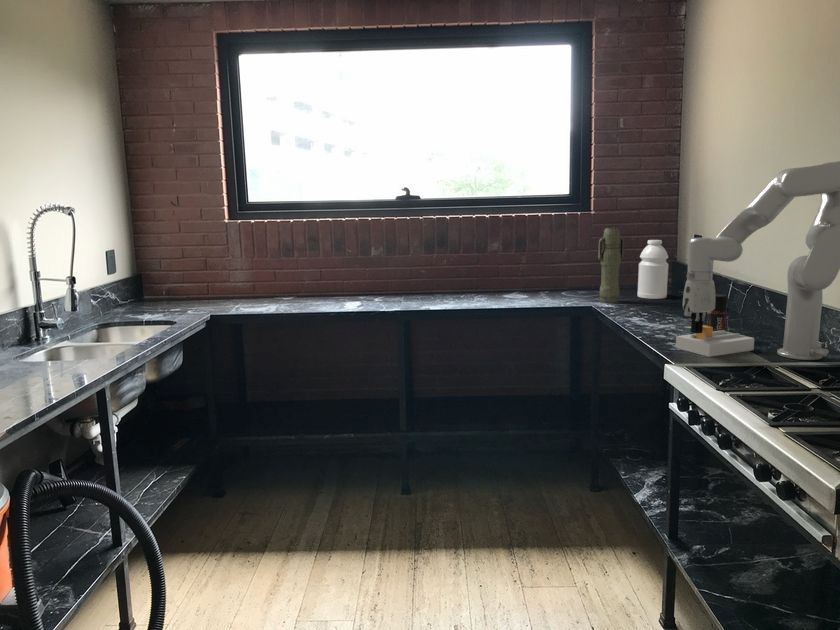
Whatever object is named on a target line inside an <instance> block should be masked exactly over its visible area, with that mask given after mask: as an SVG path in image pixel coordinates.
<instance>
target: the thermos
mask: <svg viewBox="0 0 840 630" xmlns="http://www.w3.org/2000/svg"><path fill="white" fill-rule="evenodd" d="M602 235H603V236H602V237H601V238H600V239H598V254H597V255H598V256H597V258H598V260H599V261H600V266H601V276H600V277H601V280H600V282H601V283H600V287H599V302H600V303H601V304H602V303H603V304H617V303H619V297H620V286H619V279H620V278H619V277H620V275H619V274H620V266H621V261H622V260H624V254H625V253H624V251H625V249H624V248H625V240H624V238H623V237H621V233H620V228H618V227H610V226H609V227H606V228H604V230H603V233H602Z"/></svg>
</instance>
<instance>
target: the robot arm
mask: <svg viewBox="0 0 840 630" xmlns="http://www.w3.org/2000/svg"><path fill="white" fill-rule="evenodd" d="M816 195H820V198H821V199H820V205H819V208H818V210H817V212H816V215H815V217H814V219H813V221H812V223H811V226H810V228H809V229H808V231H807V233H806V236H805V244H806V247H807V248H808V249H809V250H810V251H809V252H808V255H802V256H801V255H800V256H799V257H796V258H795V259H794V260H792V262H791V263H790V264H789V266H788V269H787V300H786V311H785V312H786V313H785V322H784V333H783V334H784V335H783V345H782V347H781V348H778V349H777V352H776V353H777V355H779V356H780V357H784V358H788V359H793V360H800V361H801V360H802V361H815V360H821V359H823V357H827V356H828V354H829V352H830V351H829V349H827V348H823V347H822V343H820V342H819V338H820V328H821V327H820V326H821V316H822V306H823V290H825V289H828V287H830V286H831V285H832V284H833V282H835V279H836V278H837V277H838V274H839V272H840V161H839V160H838V161H837V160H836V161H829V162H828V161H827V162H824V163H822V164H817V165H811V166H801V167H793V168H792V167H791V168H784V169H783V170H780V171H779V172H778V173H777V174H775V176H774V177H773V178H772V179H771V180H770V181H769V182H768V184H766V185H765V187H764V188H763V189H762V190H761V191H760V192H759V193H758V194H757V196H756V197H754V199H752V201H751V202H750V203H749V204H748V205H747V206H746V207H745V208H744V209H742V210H741V212H739V214H738V215H736V216H735V217H734V218H733V219H732V220H731V221H730V222H729V223H727V224H726V226H725V227H724V228H723V229H721V231H720V232H719V233H718V234H717V236H715V238H710V237H692V238H691V239H690V240H689V242H688V256H687V273H686V276H685V277H686V281H685V285H684V290H683V297H682V309H683V311H684V312H683V316H686V317H689V320H690V321H691V324H690V325H691V326H690V332H691V333H692V334H696V333H702V329H703V325H704V321H705V319H706V316H708V314H710V313H711V311H713V310H714V309H715V294H716V287H715V280H713V276H714V275H713V273H714V271H713V270H714V262H715V261H718V262H727V263H730V262H734V261H736V260H738V259H739V258H740V257H741V256H742V255H743V245H742V244H744V243H743V242H745V241H746V239H748V238H749V237H750V236H751V235H752V234H753V233H755V232H757V231H758V230H760V229H762V228H764V227H767V226H768V225H770V224H771V223H772V222H774V220H775V219H776V218H777V217H778V216H779V215H780V213H781V212H782V211H783V210H784V209H785V208H786V207H787V206H788V205H789V204H790V203H791V202H792V201H793V199H795V198H798V197H807V196H808V197H809V196H816Z"/></svg>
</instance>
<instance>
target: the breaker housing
mask: <svg viewBox="0 0 840 630" xmlns="http://www.w3.org/2000/svg"><path fill="white" fill-rule="evenodd" d="M675 349H678V350H682V351H686V352H689V353H694V354H697V355H702V356H704V357H709V358H710V357H716V356H723V355H724V356H725V355H730V354H735V353H736V354H737V353H742V352H743V353H744V352H750V351H754V350H755V337H751V336H746V335H743V334H741V333H738V332H737V333H734V332H730V331H726V330H725V331H724V330H722V331H713V332H712V337H706V338H704V340H703V339H699V338H696V333H692V334H691V333H690V334H683V335H676V337H675Z"/></svg>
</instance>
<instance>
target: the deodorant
mask: <svg viewBox="0 0 840 630" xmlns="http://www.w3.org/2000/svg"><path fill="white" fill-rule="evenodd" d="M727 304H728V295H727V294H722V293H720V294H719V293H715V309H714V310H713V311H711V313H710V314H707V324H706V326H710V327H713V331H722V330H724V331H726V321H727V320H726V319H727V318H726V317H727Z"/></svg>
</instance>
